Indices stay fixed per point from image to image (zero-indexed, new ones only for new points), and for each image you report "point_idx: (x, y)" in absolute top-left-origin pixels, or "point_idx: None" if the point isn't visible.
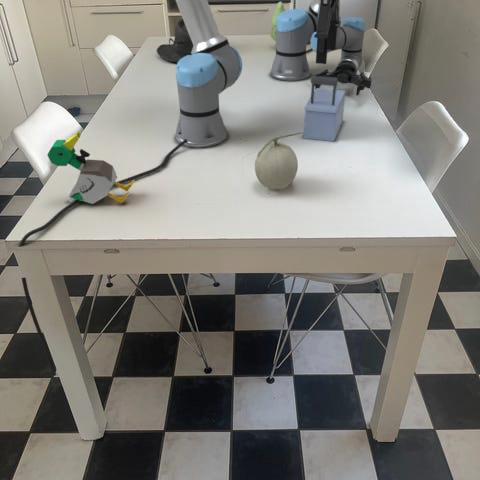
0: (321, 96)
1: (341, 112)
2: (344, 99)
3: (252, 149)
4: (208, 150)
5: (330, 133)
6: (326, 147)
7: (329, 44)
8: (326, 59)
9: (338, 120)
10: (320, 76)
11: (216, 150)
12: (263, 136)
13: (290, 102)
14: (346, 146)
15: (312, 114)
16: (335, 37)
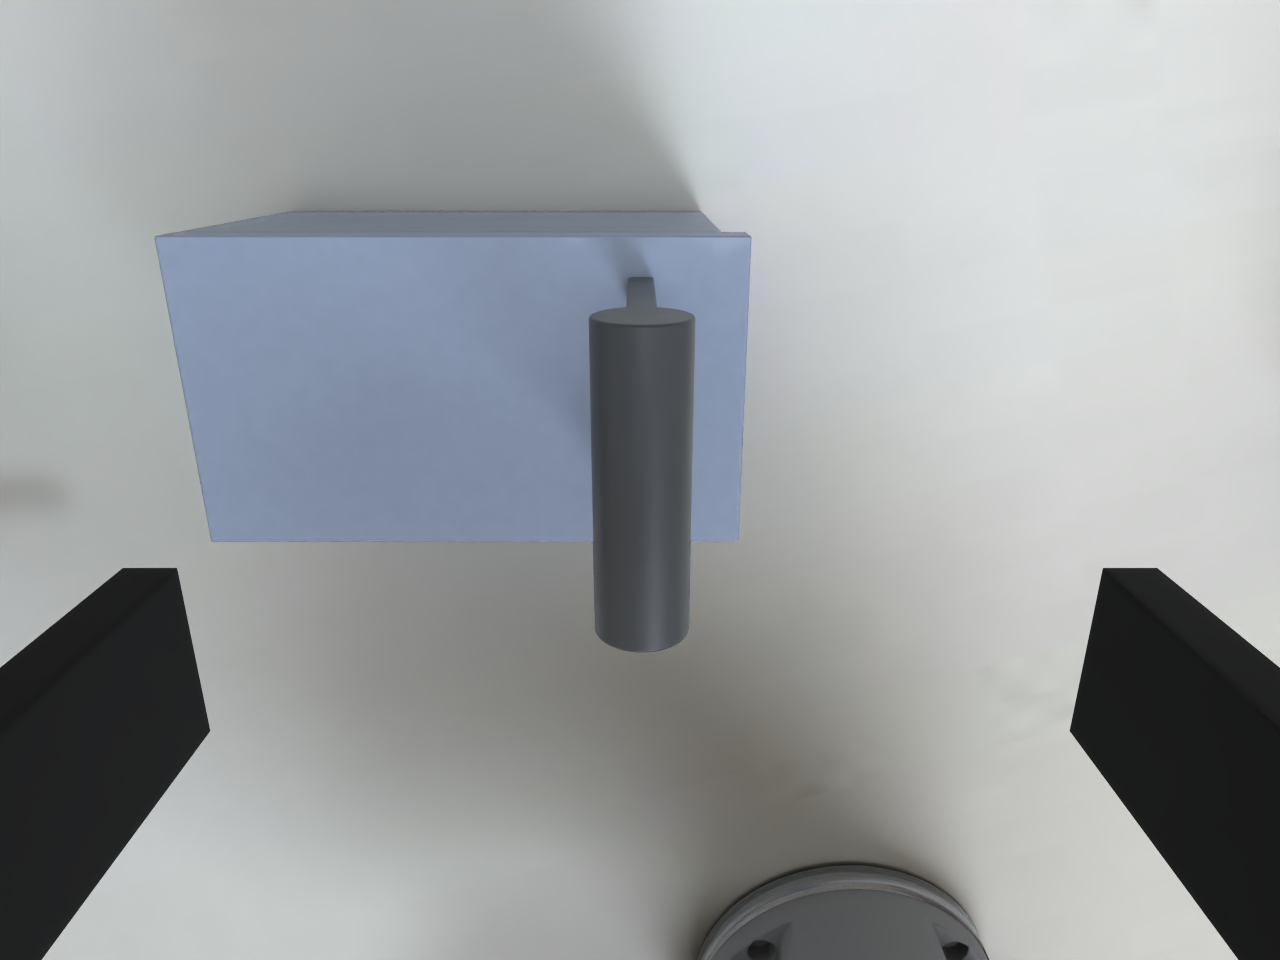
0: (432, 449)
1: (374, 220)
2: (212, 227)
3: (945, 694)
4: (998, 895)
5: None
6: (820, 245)
7: (142, 735)
8: (1159, 604)
9: (530, 219)
10: (628, 553)
11: (991, 861)
12: (737, 686)
13: None
14: (768, 91)
15: None
16: (14, 731)
